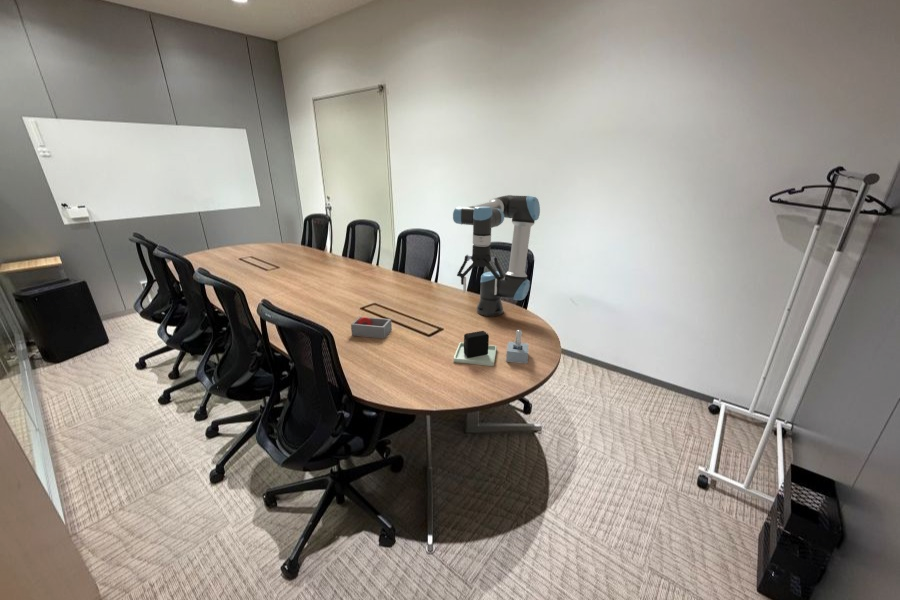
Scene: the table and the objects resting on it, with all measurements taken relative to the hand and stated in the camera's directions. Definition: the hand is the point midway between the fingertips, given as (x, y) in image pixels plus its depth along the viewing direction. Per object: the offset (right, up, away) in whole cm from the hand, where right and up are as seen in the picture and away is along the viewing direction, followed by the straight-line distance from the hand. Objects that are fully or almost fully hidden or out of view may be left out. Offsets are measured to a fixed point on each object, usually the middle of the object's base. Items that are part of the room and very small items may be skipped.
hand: (479, 292), depth 159 cm
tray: (-2, -28, +2) cm, 28 cm away
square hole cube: (+16, -28, +1) cm, 33 cm away
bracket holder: (-52, -20, +23) cm, 60 cm away
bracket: (-53, -20, +25) cm, 62 cm away
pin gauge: (+16, -27, 0) cm, 32 cm away
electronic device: (-2, -27, +2) cm, 28 cm away
